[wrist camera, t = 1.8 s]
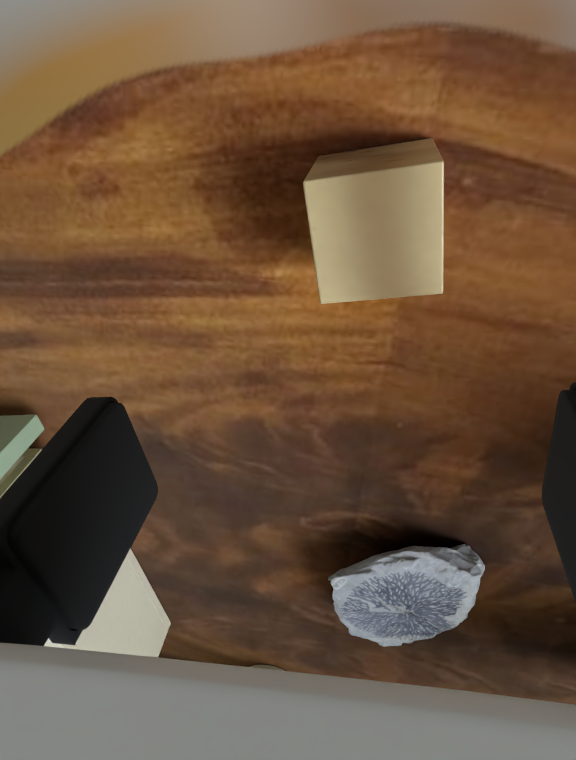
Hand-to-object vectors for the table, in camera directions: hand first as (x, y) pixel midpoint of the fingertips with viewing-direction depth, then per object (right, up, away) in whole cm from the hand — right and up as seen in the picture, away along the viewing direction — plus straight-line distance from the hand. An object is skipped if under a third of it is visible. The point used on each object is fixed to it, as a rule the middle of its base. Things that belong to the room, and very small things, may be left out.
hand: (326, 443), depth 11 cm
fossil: (+7, -12, +24) cm, 28 cm away
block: (+3, +9, +10) cm, 13 cm away
